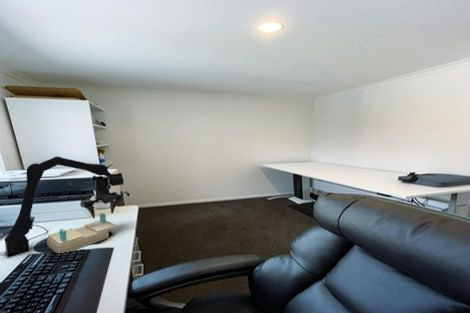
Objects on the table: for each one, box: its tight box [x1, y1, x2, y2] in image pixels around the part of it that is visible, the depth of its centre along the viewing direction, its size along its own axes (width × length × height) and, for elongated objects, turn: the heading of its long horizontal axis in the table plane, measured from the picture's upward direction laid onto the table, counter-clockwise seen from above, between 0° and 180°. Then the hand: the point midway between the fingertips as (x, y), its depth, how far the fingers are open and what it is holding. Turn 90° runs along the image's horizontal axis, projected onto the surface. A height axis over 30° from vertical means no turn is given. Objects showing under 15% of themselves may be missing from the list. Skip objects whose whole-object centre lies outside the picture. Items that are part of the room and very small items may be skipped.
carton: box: [46, 225, 110, 255], centre depth 103 cm, size 20×16×4 cm
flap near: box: [47, 228, 84, 245], centre depth 98 cm, size 9×15×5 cm, turn 56°
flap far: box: [84, 212, 118, 232], centre depth 111 cm, size 9×15×5 cm, turn 56°
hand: (103, 215), depth 115 cm, fingers open, 9 cm apart
